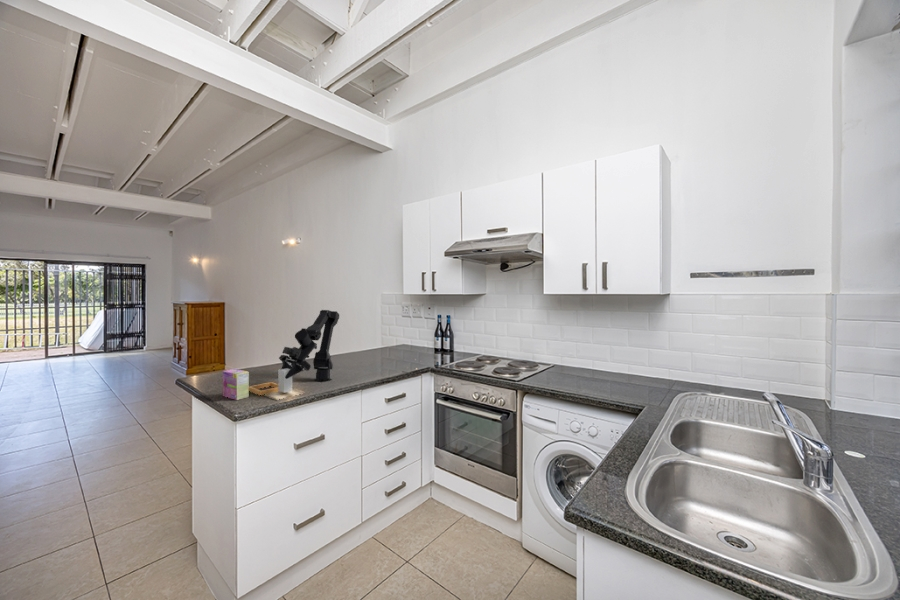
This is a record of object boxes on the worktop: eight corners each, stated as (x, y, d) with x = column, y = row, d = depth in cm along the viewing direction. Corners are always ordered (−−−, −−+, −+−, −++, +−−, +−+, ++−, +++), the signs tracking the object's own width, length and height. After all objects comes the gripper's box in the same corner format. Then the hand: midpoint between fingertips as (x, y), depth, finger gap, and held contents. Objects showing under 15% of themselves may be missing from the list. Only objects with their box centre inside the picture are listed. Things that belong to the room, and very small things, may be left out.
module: (286, 388, 174) (286, 368, 173) (292, 390, 171) (292, 369, 171) (278, 390, 170) (278, 369, 170) (284, 392, 168) (284, 371, 167)
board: (292, 389, 179) (292, 388, 179) (304, 393, 174) (304, 391, 173) (264, 395, 168) (264, 394, 168) (276, 400, 162) (276, 398, 162)
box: (222, 396, 165) (222, 370, 165) (234, 393, 170) (235, 368, 170) (236, 400, 160) (236, 373, 160) (248, 397, 165) (249, 371, 165)
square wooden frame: (271, 385, 185) (271, 381, 185) (284, 390, 178) (284, 386, 178) (247, 390, 175) (247, 386, 175) (260, 395, 168) (260, 391, 168)
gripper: (282, 338, 179) (260, 364, 170) (305, 342, 168) (282, 370, 159) (297, 352, 185) (276, 377, 177) (319, 357, 175) (298, 384, 166)
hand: (282, 377), depth 169 cm, fingers closed on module, 5 cm apart
